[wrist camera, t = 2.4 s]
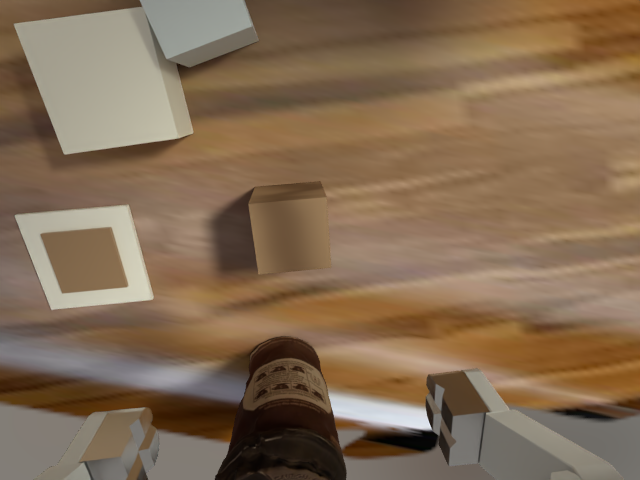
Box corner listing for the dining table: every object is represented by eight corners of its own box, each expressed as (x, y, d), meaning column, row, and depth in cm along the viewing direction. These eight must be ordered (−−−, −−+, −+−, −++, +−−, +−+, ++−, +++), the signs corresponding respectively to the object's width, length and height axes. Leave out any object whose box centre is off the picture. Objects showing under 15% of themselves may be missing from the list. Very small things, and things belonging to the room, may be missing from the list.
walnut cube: (320, 181, 28) (326, 197, 23) (324, 241, 30) (331, 267, 25) (255, 186, 27) (248, 203, 23) (263, 247, 29) (258, 274, 25)
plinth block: (166, 21, 23) (143, 6, 20) (194, 132, 26) (178, 138, 22) (57, 36, 23) (13, 23, 19) (96, 146, 26) (64, 154, 22)
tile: (128, 204, 27) (124, 206, 26) (153, 297, 30) (150, 301, 29) (17, 213, 27) (11, 216, 26) (54, 307, 30) (49, 311, 29)
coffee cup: (239, 319, 31) (208, 456, 19) (333, 322, 32) (360, 455, 20) (237, 397, 34) (210, 558, 22) (323, 398, 35) (342, 553, 23)
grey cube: (227, -46, 22) (211, -86, 18) (259, 41, 24) (252, 26, 19) (153, -17, 22) (117, -48, 18) (189, 67, 24) (166, 59, 20)
